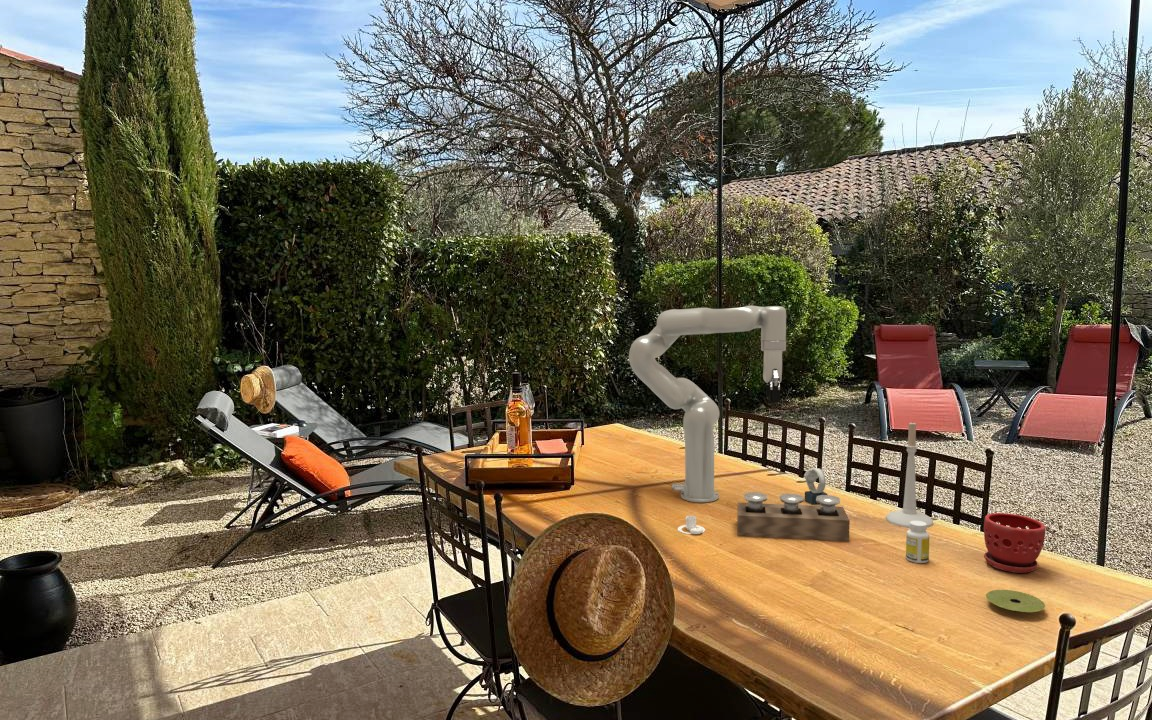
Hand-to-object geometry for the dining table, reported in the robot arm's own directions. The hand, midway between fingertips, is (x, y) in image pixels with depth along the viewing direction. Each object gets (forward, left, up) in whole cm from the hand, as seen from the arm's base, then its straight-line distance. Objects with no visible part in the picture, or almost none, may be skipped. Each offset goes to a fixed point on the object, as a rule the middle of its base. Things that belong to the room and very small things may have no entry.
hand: (773, 399), depth 235 cm
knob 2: (+14, -24, -29) cm, 41 cm away
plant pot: (+56, -42, -34) cm, 78 cm away
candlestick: (+39, -10, -34) cm, 53 cm away
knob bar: (+4, -24, -34) cm, 42 cm away
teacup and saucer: (-26, -29, -35) cm, 53 cm away
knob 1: (-6, -24, -29) cm, 39 cm away
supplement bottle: (+34, -41, -34) cm, 64 cm away
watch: (+14, +5, -34) cm, 37 cm away
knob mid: (+4, -24, -29) cm, 38 cm away
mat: (+48, -67, -34) cm, 90 cm away
